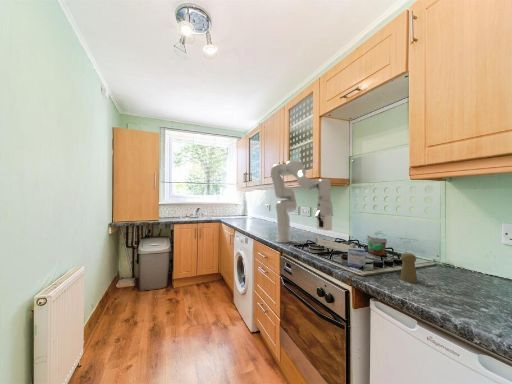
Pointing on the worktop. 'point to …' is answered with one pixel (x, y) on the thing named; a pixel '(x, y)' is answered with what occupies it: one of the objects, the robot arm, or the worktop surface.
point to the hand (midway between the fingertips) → (324, 226)
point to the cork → (408, 268)
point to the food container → (376, 246)
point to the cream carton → (326, 223)
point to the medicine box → (356, 257)
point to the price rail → (333, 245)
